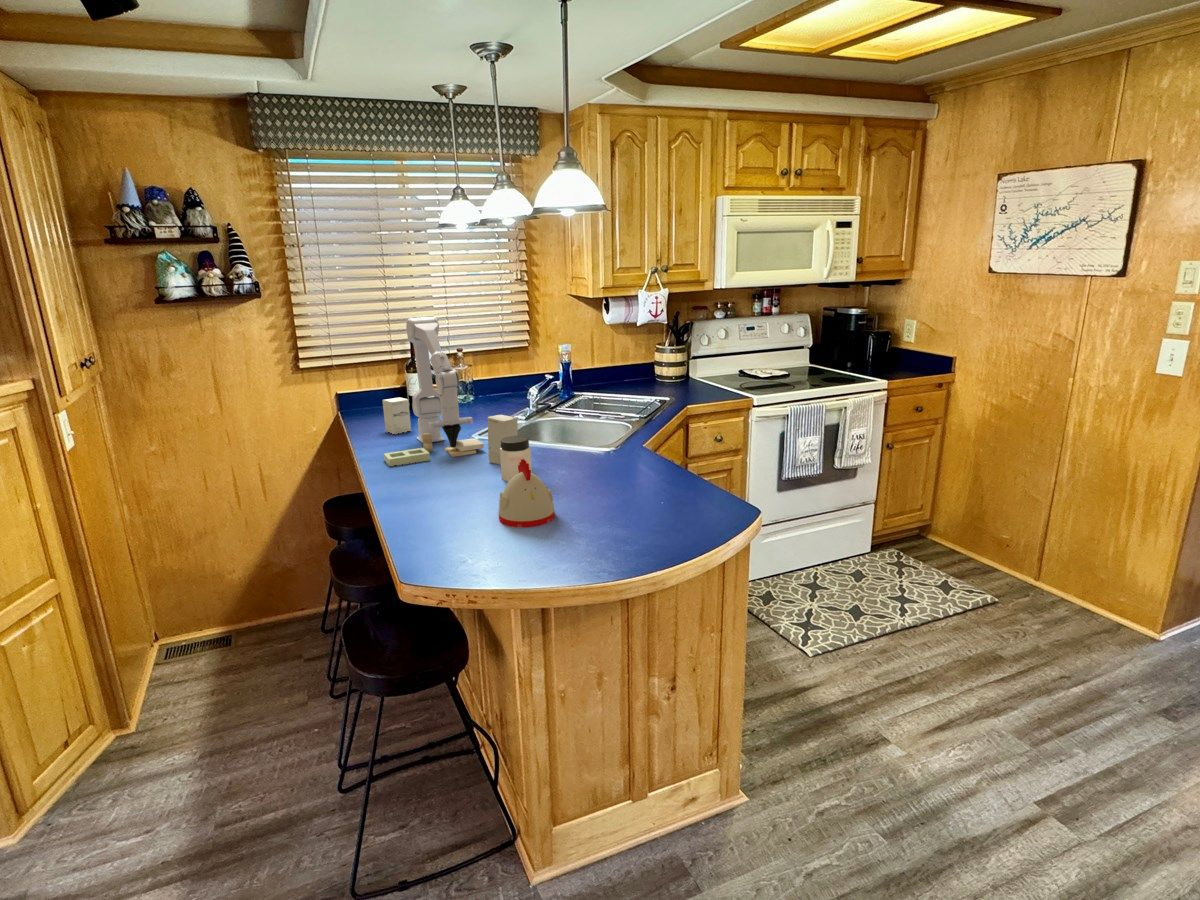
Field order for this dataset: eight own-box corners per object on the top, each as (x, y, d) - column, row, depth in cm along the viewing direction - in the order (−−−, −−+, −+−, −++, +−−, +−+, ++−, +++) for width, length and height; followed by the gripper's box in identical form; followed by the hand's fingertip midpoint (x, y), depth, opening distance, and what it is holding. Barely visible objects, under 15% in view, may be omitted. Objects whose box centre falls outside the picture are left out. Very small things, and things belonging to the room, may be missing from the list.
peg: (422, 450, 238) (421, 433, 236) (431, 449, 239) (429, 432, 238) (425, 452, 236) (423, 435, 234) (433, 451, 237) (432, 434, 235)
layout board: (445, 450, 237) (444, 447, 237) (467, 447, 241) (467, 444, 241) (453, 456, 230) (452, 453, 229) (476, 453, 233) (476, 449, 233)
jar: (512, 472, 211) (509, 434, 208) (536, 475, 208) (534, 436, 205) (497, 481, 203) (494, 442, 200) (522, 484, 200) (519, 444, 197)
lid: (452, 445, 238) (452, 438, 237) (475, 442, 242) (474, 434, 241) (460, 451, 230) (460, 443, 230) (483, 447, 234) (483, 440, 233)
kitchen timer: (507, 531, 166) (503, 471, 162) (492, 513, 178) (488, 457, 174) (562, 521, 171) (560, 463, 167) (544, 504, 183) (541, 449, 179)
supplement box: (393, 435, 261) (390, 402, 257) (385, 431, 266) (381, 399, 263) (412, 431, 265) (408, 399, 262) (403, 428, 271) (399, 396, 267)
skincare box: (488, 462, 222) (485, 417, 218) (502, 458, 227) (499, 413, 223) (506, 466, 217) (503, 420, 213) (520, 462, 222) (517, 416, 218)
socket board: (384, 460, 227) (383, 453, 227) (423, 454, 233) (423, 447, 233) (389, 466, 221) (389, 459, 220) (430, 460, 227) (429, 453, 226)
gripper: (431, 412, 223) (435, 452, 227) (474, 406, 230) (477, 446, 233) (425, 408, 229) (429, 447, 233) (467, 403, 236) (470, 441, 239)
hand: (453, 446), depth 234 cm, fingers closed
